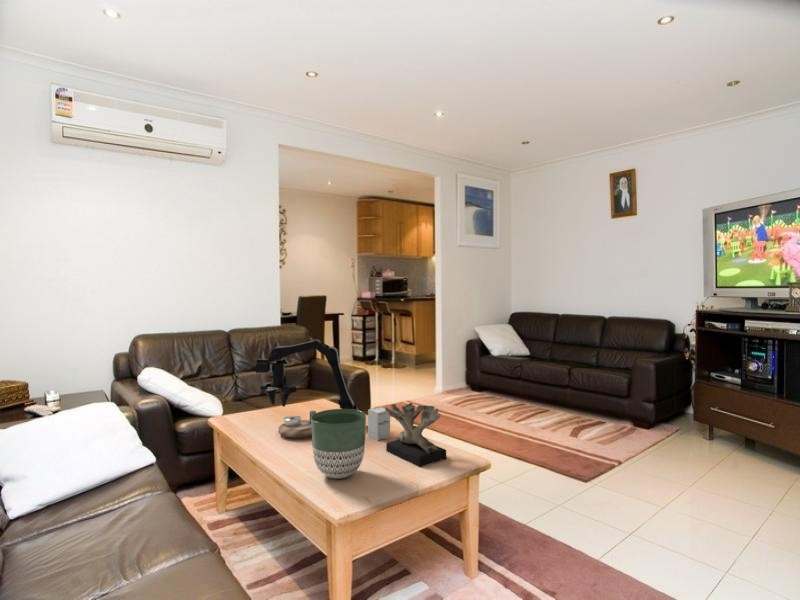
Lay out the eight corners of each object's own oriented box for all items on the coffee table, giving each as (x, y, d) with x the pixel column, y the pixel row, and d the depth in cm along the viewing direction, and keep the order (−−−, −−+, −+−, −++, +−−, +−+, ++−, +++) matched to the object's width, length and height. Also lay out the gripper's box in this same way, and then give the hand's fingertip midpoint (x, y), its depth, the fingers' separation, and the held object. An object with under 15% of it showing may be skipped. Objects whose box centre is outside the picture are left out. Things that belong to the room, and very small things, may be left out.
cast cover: (304, 423, 213) (304, 416, 213) (292, 427, 206) (292, 421, 206) (292, 421, 217) (292, 414, 217) (279, 425, 210) (279, 418, 210)
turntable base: (325, 431, 211) (325, 429, 211) (301, 441, 198) (301, 438, 198) (300, 426, 220) (300, 423, 220) (275, 435, 206) (275, 432, 206)
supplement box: (377, 441, 198) (377, 412, 198) (367, 437, 204) (367, 409, 203) (390, 437, 203) (390, 409, 202) (380, 433, 208) (380, 406, 208)
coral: (452, 462, 174) (452, 406, 173) (410, 474, 162) (410, 415, 162) (413, 444, 194) (413, 394, 194) (373, 454, 182) (373, 401, 182)
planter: (349, 461, 175) (348, 406, 175) (376, 477, 159) (376, 417, 159) (302, 473, 163) (301, 414, 163) (327, 492, 148) (326, 427, 147)
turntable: (331, 427, 212) (331, 413, 212) (301, 440, 195) (301, 424, 195) (300, 421, 222) (300, 407, 222) (269, 432, 205) (269, 417, 205)
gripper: (304, 372, 218) (304, 404, 218) (277, 368, 227) (277, 399, 228) (287, 376, 208) (288, 409, 209) (259, 372, 218) (260, 404, 218)
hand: (278, 405), depth 216 cm, fingers open, 7 cm apart
